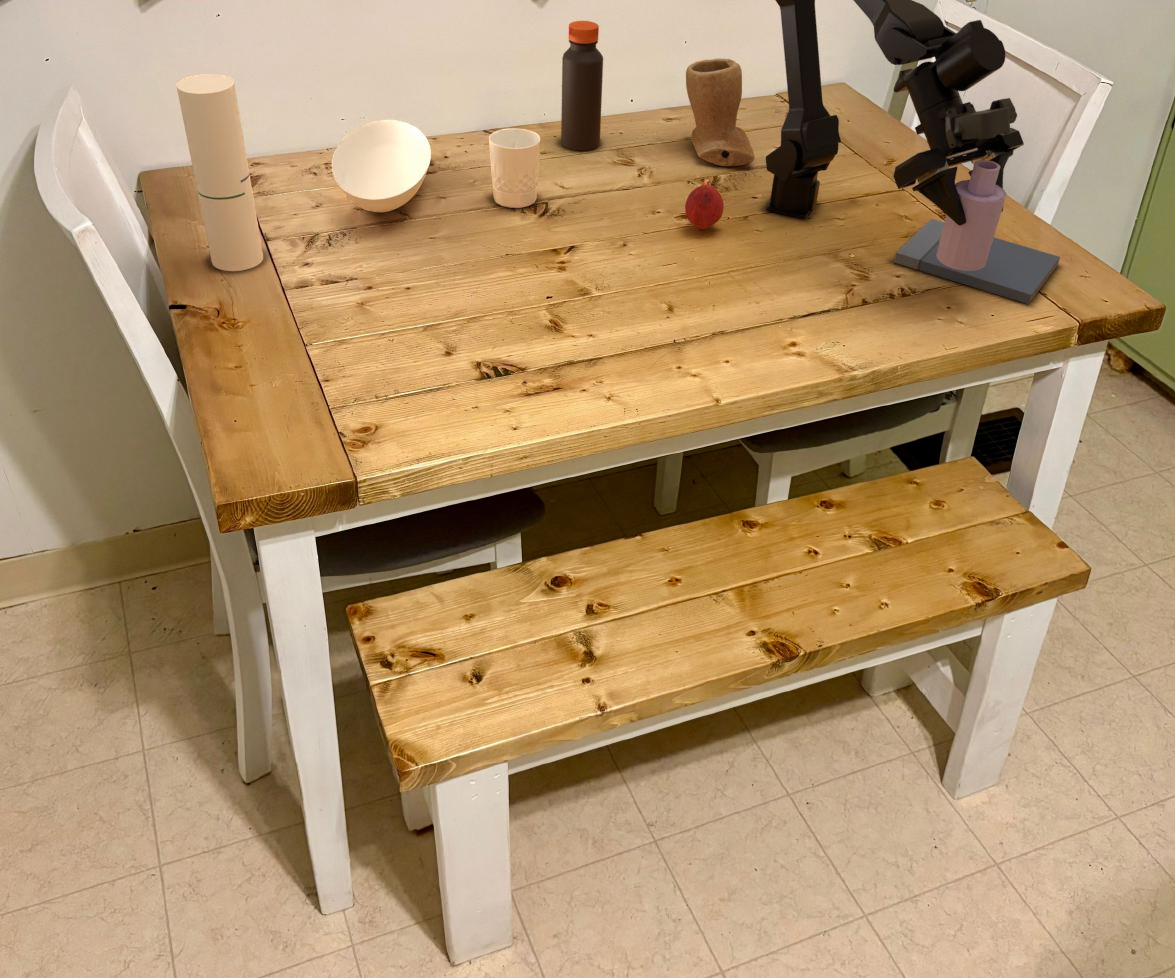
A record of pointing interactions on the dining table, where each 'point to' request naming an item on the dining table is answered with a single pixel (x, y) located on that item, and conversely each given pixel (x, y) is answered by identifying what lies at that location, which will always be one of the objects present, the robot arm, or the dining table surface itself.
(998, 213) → the vase
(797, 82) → the robot arm
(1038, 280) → the grey stepped slab
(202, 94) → the cylindrical container
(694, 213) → the onion
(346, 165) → the bowl
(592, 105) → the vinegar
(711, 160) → the clay boot vessel
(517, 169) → the white cup
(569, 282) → the dining table surface
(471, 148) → the dining table surface
